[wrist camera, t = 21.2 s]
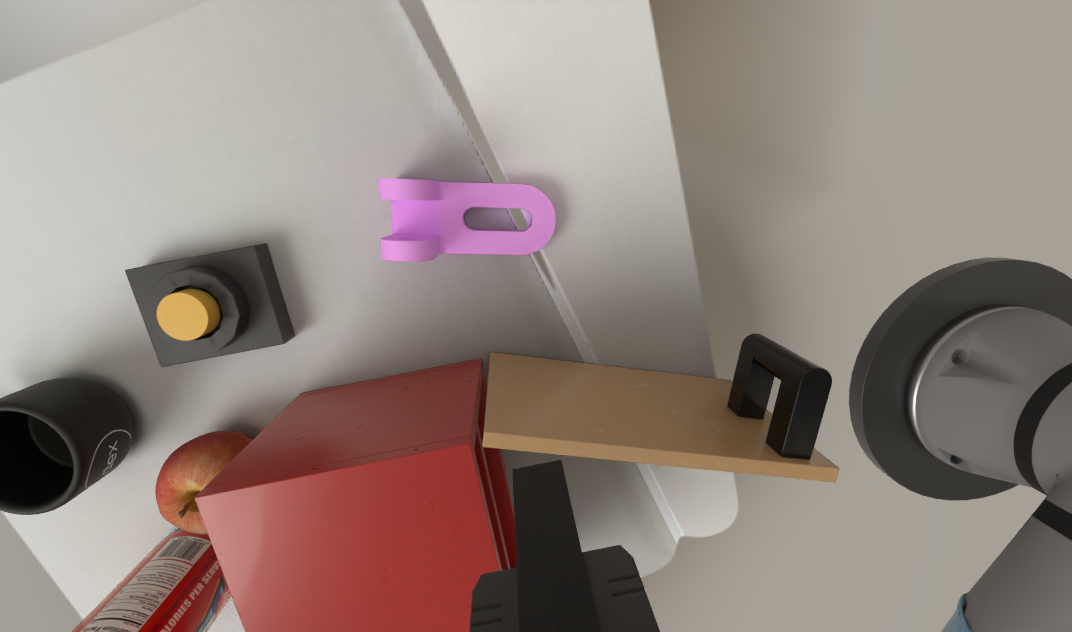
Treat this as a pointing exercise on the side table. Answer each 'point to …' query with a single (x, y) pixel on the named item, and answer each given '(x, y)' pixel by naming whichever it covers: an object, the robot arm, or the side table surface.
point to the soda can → (166, 591)
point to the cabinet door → (665, 413)
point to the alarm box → (239, 291)
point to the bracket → (459, 219)
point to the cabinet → (365, 508)
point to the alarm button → (188, 314)
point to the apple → (194, 476)
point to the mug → (59, 442)
